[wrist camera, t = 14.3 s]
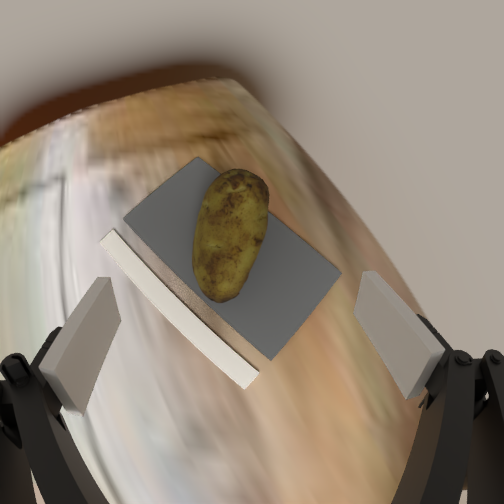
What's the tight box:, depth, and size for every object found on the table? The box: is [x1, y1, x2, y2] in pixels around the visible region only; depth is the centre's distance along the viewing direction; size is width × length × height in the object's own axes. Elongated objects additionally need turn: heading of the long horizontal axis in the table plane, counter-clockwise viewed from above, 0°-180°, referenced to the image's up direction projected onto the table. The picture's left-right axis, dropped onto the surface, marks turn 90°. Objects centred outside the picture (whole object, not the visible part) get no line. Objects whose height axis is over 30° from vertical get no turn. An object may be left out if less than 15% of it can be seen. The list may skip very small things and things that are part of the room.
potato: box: [192, 169, 269, 303], centre depth 28 cm, size 8×13×8 cm, turn 150°
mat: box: [123, 157, 342, 360], centre depth 32 cm, size 24×13×1 cm, turn 48°
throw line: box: [100, 230, 259, 390], centre depth 29 cm, size 24×2×1 cm, turn 48°
